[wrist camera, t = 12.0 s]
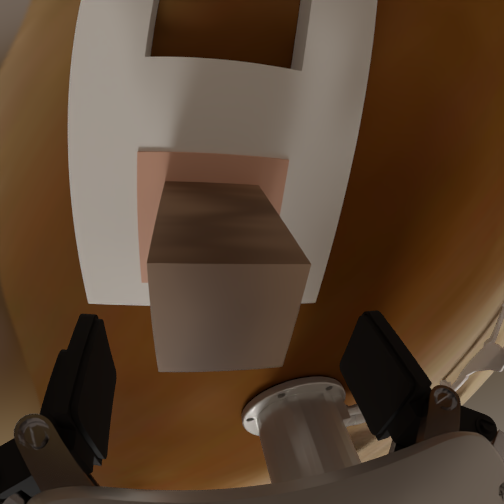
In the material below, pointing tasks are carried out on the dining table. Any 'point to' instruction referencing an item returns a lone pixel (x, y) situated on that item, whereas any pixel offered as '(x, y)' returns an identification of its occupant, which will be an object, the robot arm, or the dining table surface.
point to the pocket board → (208, 133)
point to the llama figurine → (483, 358)
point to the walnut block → (222, 279)
